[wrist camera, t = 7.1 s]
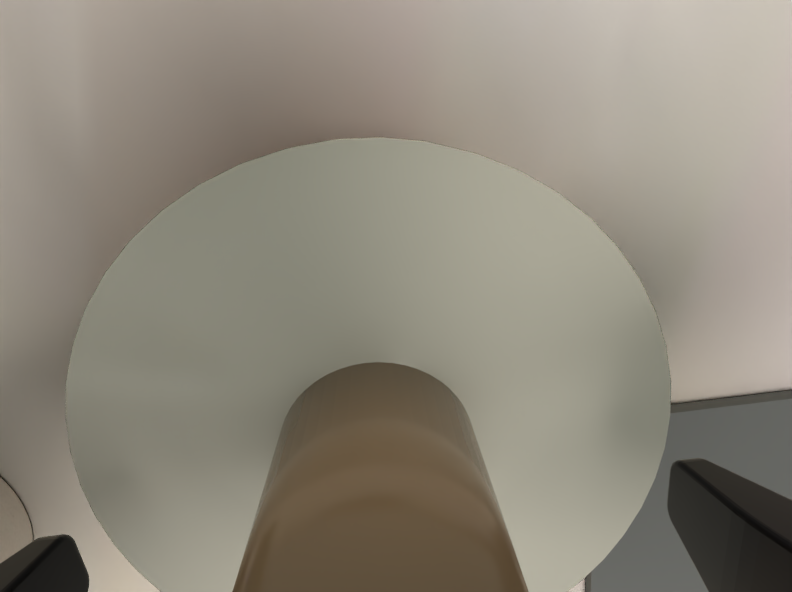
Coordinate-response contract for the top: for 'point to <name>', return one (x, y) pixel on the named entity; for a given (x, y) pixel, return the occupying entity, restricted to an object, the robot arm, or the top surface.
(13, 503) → the coffee cup
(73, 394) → the lid
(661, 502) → the mat
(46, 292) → the top surface
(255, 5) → the top surface
